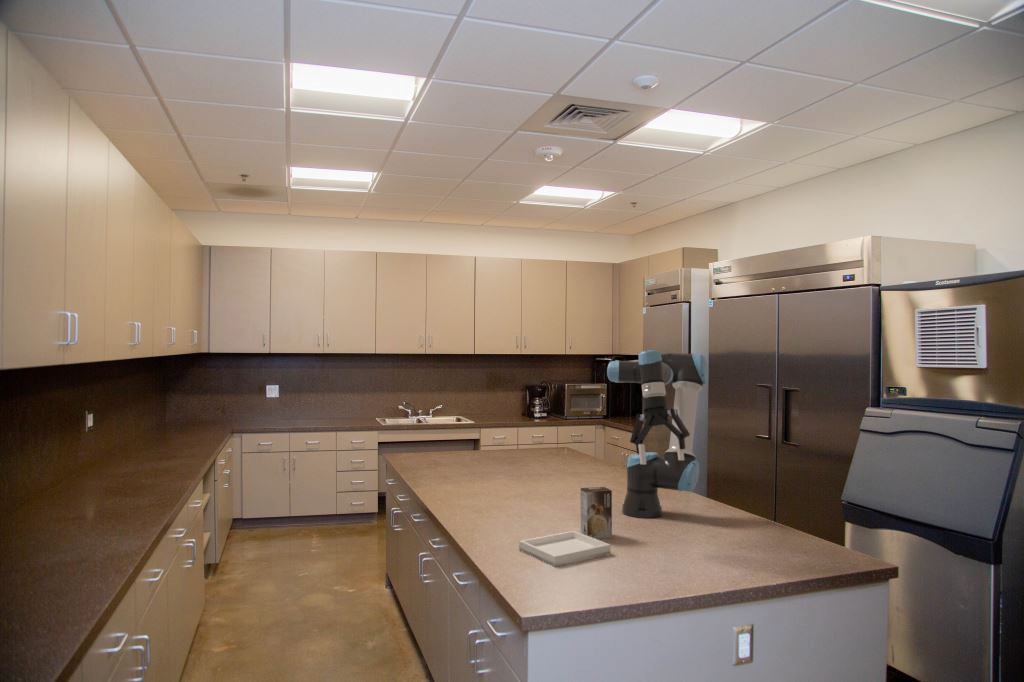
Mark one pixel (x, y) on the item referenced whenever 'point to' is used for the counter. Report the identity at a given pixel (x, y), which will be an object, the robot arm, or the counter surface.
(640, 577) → the counter surface
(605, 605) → the counter surface
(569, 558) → the white tray
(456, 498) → the counter surface
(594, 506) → the coffee box
